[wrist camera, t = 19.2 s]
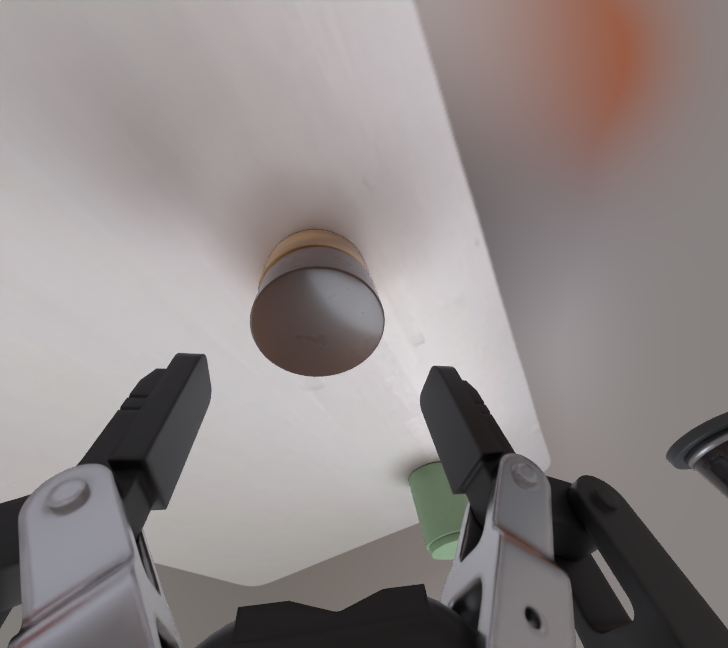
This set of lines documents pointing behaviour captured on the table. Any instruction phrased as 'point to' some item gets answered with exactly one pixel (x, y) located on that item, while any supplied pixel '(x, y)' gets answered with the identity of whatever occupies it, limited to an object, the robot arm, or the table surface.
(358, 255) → the maple chip
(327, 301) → the walnut chip
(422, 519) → the green lidded canister
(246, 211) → the table surface
